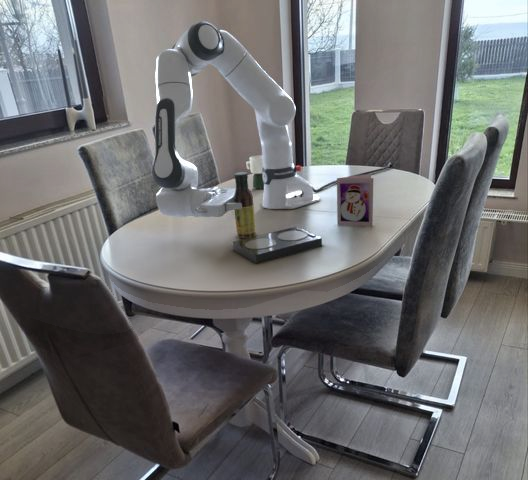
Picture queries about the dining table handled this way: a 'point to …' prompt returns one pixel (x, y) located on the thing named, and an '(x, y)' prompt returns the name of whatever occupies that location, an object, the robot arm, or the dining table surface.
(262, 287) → the dining table surface
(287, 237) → the hot plate
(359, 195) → the greeting card
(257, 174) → the character mug
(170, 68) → the robot arm
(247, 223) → the sauce bottle
